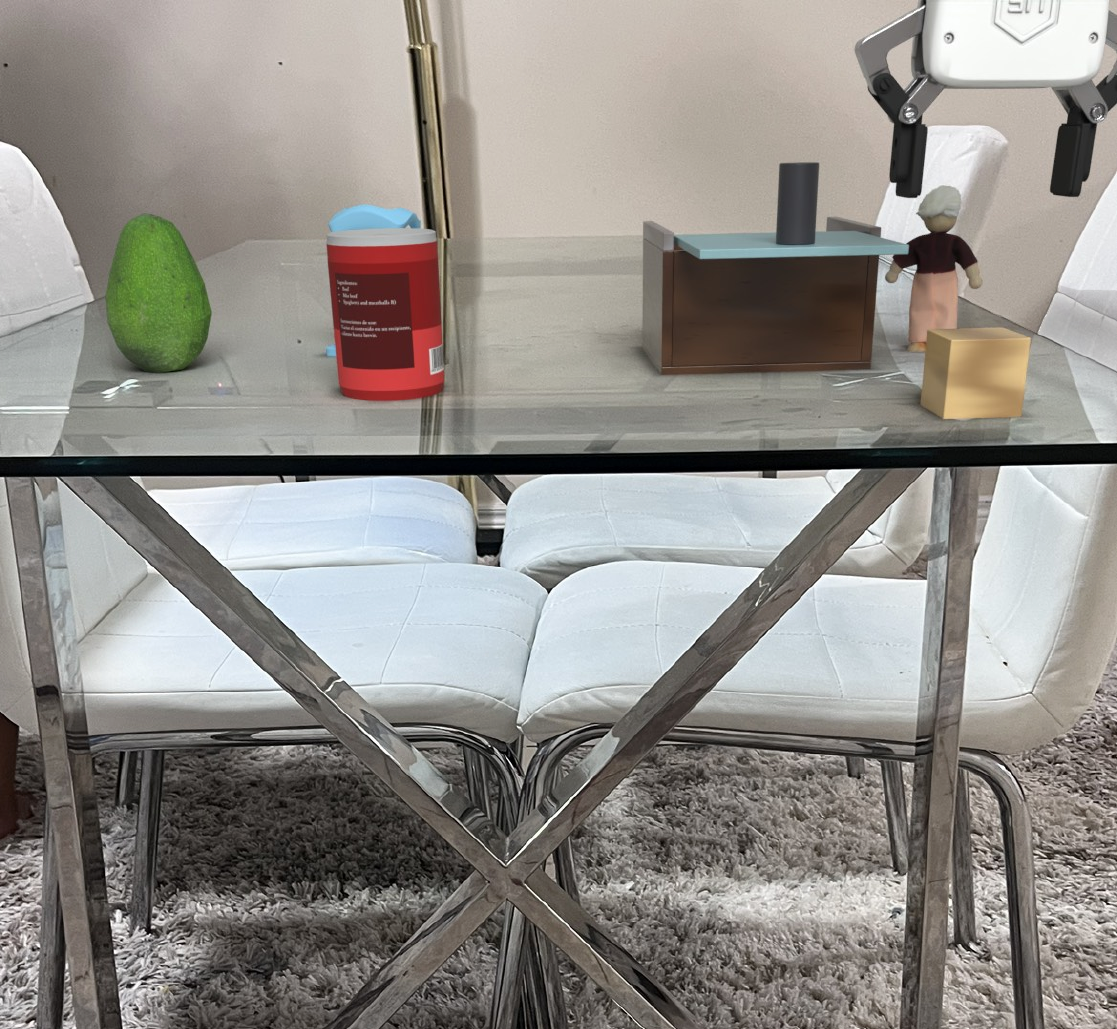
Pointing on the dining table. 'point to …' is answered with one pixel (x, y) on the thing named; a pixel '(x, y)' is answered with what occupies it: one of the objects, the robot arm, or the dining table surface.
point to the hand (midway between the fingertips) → (986, 196)
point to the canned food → (386, 313)
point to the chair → (370, 225)
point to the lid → (791, 228)
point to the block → (975, 372)
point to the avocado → (156, 297)
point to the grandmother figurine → (935, 267)
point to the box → (757, 309)
